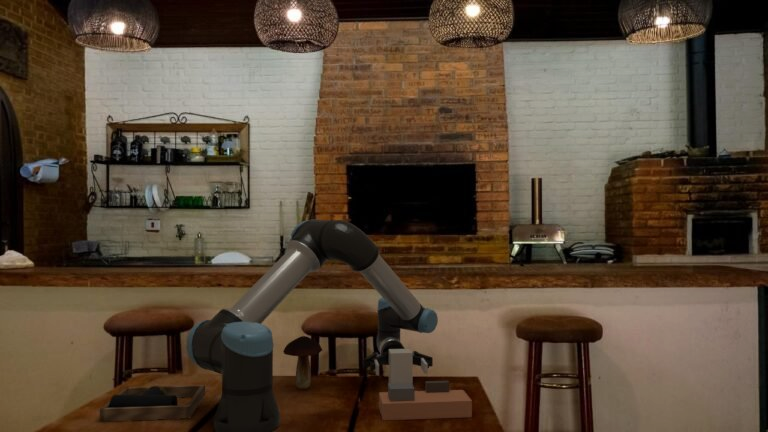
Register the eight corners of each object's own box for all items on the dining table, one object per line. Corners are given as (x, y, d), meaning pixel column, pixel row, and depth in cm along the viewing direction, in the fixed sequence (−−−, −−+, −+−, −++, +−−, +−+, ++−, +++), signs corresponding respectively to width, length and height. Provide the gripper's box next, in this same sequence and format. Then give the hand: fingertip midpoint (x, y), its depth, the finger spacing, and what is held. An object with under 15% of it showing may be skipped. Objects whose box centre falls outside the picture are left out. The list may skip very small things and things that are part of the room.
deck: (382, 420, 139) (382, 391, 139) (376, 399, 155) (376, 373, 155) (471, 417, 141) (471, 388, 141) (456, 396, 157) (456, 371, 157)
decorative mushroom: (308, 396, 157) (308, 341, 157) (275, 391, 162) (275, 338, 162) (329, 386, 167) (329, 334, 167) (298, 381, 172) (298, 331, 172)
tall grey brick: (390, 397, 157) (390, 353, 157) (388, 391, 162) (388, 349, 162) (412, 396, 157) (412, 352, 157) (409, 391, 162) (409, 348, 162)
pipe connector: (130, 383, 152) (186, 384, 152) (130, 403, 152) (186, 404, 152) (108, 398, 141) (169, 398, 140) (109, 419, 141) (169, 420, 141)
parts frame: (99, 421, 138) (99, 409, 138) (125, 398, 156) (125, 387, 156) (189, 418, 140) (190, 406, 140) (205, 395, 158) (205, 385, 158)
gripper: (431, 362, 182) (446, 381, 161) (352, 364, 180) (357, 384, 159) (431, 339, 182) (446, 354, 161) (352, 340, 180) (357, 357, 159)
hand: (402, 369), depth 160 cm, fingers open, 13 cm apart
